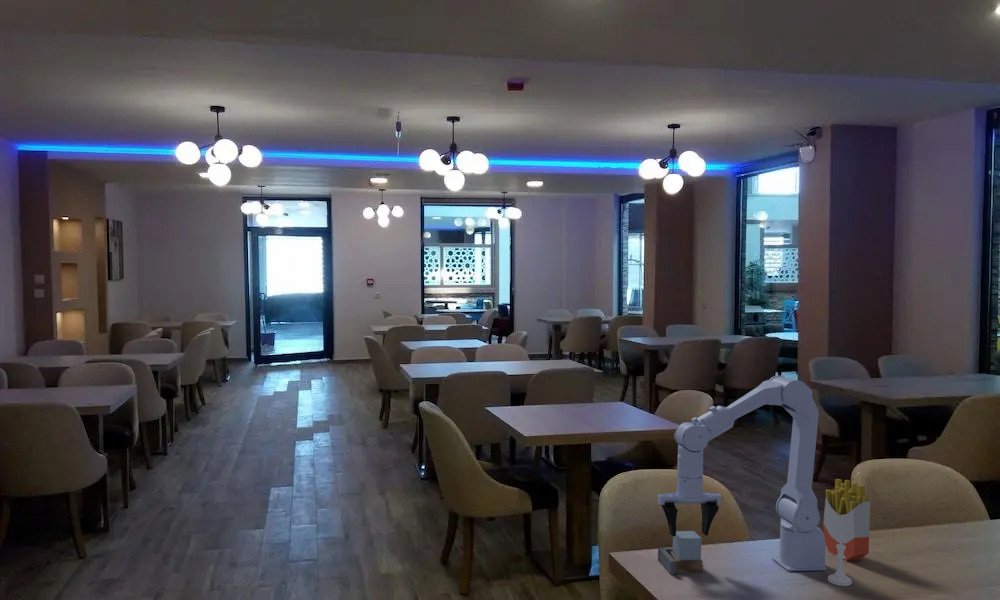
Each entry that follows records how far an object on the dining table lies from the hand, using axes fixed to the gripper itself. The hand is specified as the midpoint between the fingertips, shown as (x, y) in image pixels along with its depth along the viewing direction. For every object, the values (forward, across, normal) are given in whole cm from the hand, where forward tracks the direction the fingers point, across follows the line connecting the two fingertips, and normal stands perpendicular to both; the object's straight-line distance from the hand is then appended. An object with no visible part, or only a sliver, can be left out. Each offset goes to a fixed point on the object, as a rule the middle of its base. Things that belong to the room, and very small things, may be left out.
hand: (688, 534), depth 173 cm
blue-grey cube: (+5, 0, 0) cm, 5 cm away
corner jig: (+8, +1, 0) cm, 8 cm away
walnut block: (+8, +1, 0) cm, 8 cm away
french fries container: (+8, -41, -5) cm, 42 cm away
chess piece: (+8, -31, +10) cm, 34 cm away
